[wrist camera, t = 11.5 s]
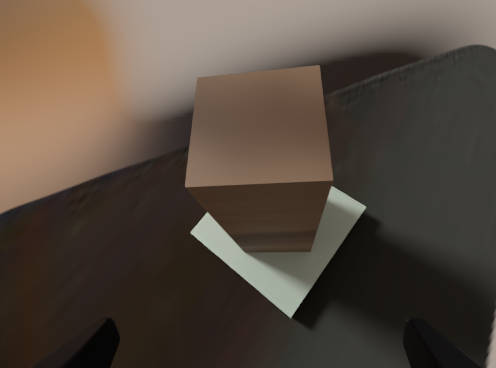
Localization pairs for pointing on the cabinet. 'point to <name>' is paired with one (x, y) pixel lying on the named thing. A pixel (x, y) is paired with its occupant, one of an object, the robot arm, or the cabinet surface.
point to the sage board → (285, 253)
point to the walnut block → (262, 156)
